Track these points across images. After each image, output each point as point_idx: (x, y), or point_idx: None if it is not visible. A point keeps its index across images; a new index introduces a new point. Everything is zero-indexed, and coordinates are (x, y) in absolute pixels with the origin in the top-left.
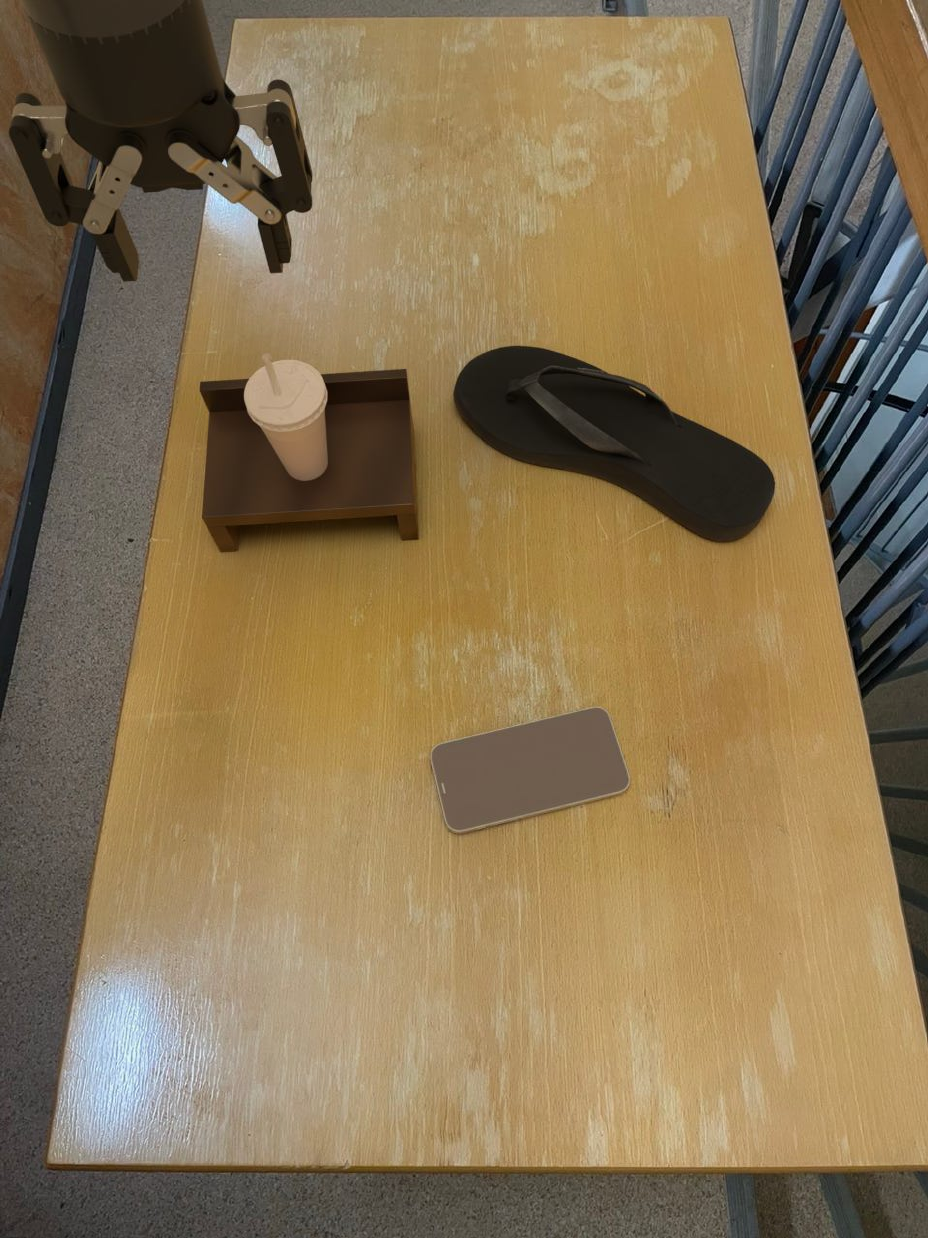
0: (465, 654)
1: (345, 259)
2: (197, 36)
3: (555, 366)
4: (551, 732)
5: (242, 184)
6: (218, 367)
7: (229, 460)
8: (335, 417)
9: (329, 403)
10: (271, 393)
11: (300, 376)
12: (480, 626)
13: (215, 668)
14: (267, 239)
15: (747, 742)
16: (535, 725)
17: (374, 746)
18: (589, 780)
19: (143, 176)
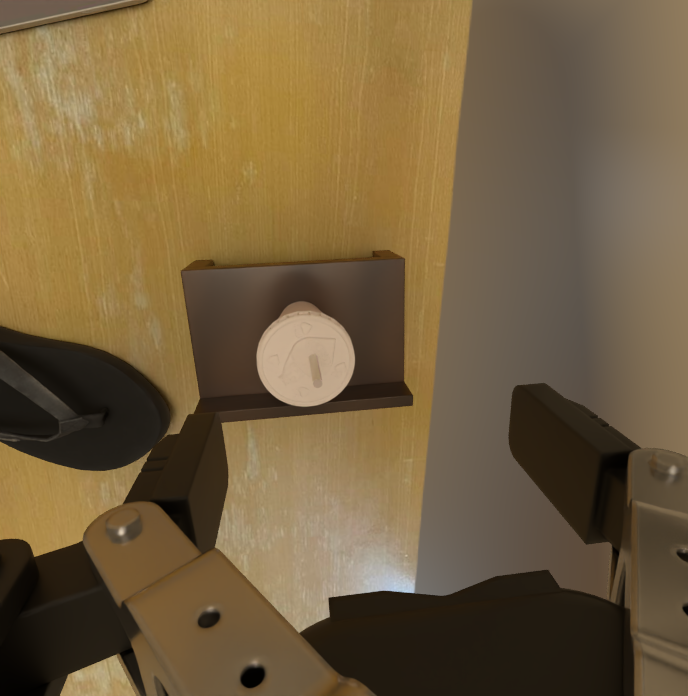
0: (130, 121)
1: (294, 557)
2: None
3: (42, 440)
4: (12, 3)
5: (136, 628)
6: (401, 445)
7: (380, 325)
8: None
9: None
10: (321, 357)
11: (287, 381)
12: (118, 155)
13: (386, 118)
14: (180, 467)
15: None
16: (33, 14)
17: (217, 11)
18: None
19: (568, 635)
